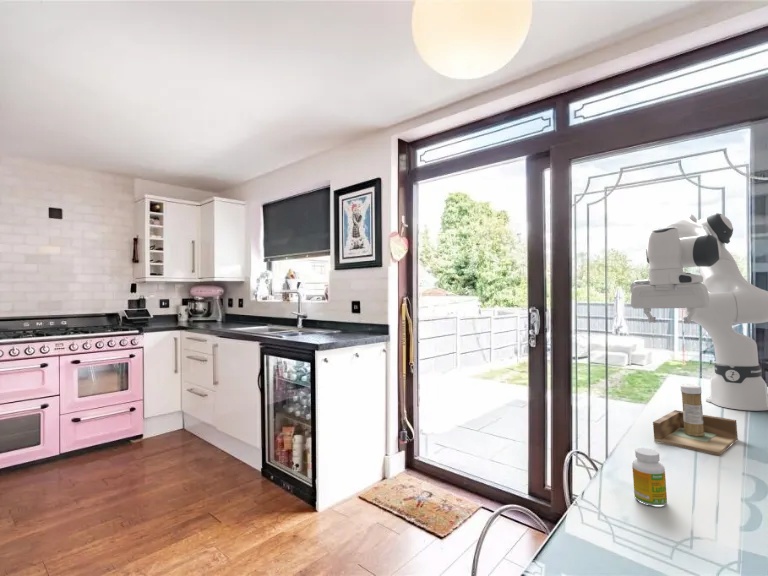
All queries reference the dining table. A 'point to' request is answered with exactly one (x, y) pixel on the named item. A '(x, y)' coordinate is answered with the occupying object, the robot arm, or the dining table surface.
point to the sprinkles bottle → (692, 409)
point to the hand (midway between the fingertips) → (669, 322)
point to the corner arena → (714, 440)
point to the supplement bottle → (649, 477)
